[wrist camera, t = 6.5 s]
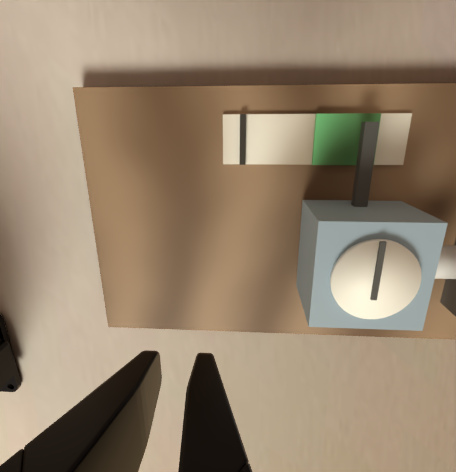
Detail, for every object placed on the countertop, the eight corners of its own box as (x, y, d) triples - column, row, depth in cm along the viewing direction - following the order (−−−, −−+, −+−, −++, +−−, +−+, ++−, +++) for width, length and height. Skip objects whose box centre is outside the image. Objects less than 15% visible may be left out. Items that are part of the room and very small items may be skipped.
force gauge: (296, 285, 18) (310, 332, 14) (308, 122, 15) (330, 120, 11) (422, 288, 18) (475, 338, 13) (459, 122, 15) (541, 119, 11)
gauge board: (114, 317, 21) (65, 387, 15) (82, 89, 17) (-4, 69, 11) (455, 329, 20) (537, 410, 14) (522, 84, 15) (683, 59, 10)
